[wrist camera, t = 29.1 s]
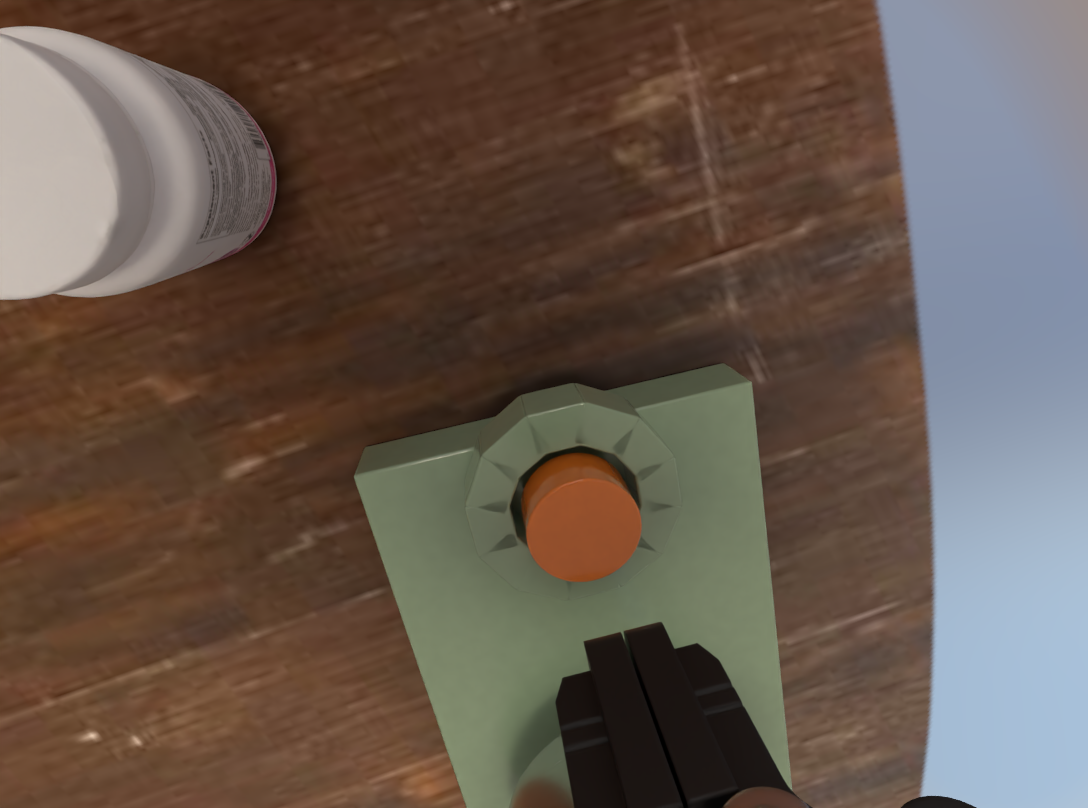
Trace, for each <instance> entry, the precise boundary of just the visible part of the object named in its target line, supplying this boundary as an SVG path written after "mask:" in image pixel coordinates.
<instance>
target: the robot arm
mask: <svg viewBox="0 0 1088 808" xmlns="http://www.w3.org/2000/svg"><path fill="white" fill-rule="evenodd" d="M624 640H625V641H624ZM583 642H584V647H585V652H586V656H587V661H588V665H589V669H590V671H586V672H582V673H578V674H575V675H571V676H567V677H563V678H562V681H561V685H560V688H559V691H558V695H557V698H556V701H555V704H556V709H557V715H558V720H559V726H560V730H561V737H562V742H563V748H564V752H565V759H566V764H567V770H568V776H569V781H570V787H571V792H572V798H573V803H574V808H812V807H810V806H809V805H808V804H806V803H805V802H803V801H802V800H801V799H800V798H799V797H798V796H796V795H795V794H794V793H793V791H792V790H791V789H790V788H789V787H788V785H787V784H786V782H785V780H784V779H783V777H782V775H781V773H780V771H779V770H778V768H777V766H776V764H775V762H774V760H773V759H772V757H771V755H770V753H769V751H768V749H767V747H766V746H765V744H764V742H763V740H762V738H761V736H760V735H759V733H758V731H757V729H756V727H755V725H754V723H753V722H752V720H751V718H750V716H749V714H748V712H747V710H746V709H745V707H743V705H742V701H741V699H740V698H739V696H738V694H737V692H736V690H735V688H734V687H733V686H732V683H731V681H730V679H729V677H728V675H727V673H726V672H725V670H724V668H723V666H722V664H721V662H720V661H719V659H717V658H716V657H715V656H714V655H712V654H711V653H710V652H708V651H707V650H706V649H705V648H703V647H702V646H701V645H699V644H698V643H695V644H691V645H687V646H684V647H680V648H676V649H674V646H673V644H672V642H671V640H670V638H669V636H668V633H667V631H666V629H665V627H664V625H663V623H662V622H657V623H653V624H649V625H645V626H641V627H637V628H633V629H629V630H625V631H624V638H623V636H622V633H621V632H618V633H614V634H610V635H606V636H602V637H598V638H594V639H590V640H586V641H583ZM901 808H976V807H974V806H972V805H969V804H967V803H965V802H962V801H960V800H956V799H952V798H948V797H942V796H925V797H919V798H916V799H913V800H911V801H909V802H907V803H906V804H904V805H903V806H902V807H901Z"/></svg>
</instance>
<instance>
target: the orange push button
mask: <svg viewBox="0 0 1088 808" xmlns="http://www.w3.org/2000/svg"><path fill="white" fill-rule="evenodd" d="M521 512H522V518H523V523H524V529H525V534H526V540H527V545H528V548H529V551H530V553H531V555H532V557H533V559H534V560H535V562H536V563H537V564H538V565H539V566H540V567H541V568H542V569H543V570H545V571H546V572H547V573H549V574H550V575H552V576H554V577H556V578H559V579H562V580H566V581H571V582H588V581H593V580H597V579H601V578H603V577H606V576H608V575H610V574H612V573H613V572H615V571H616V570H618V569H619V568H621V567H622V566H623V565H624V564H625V563H626V562H627V561H628V560H629V559H630V557H631V556H632V554H633V553H634V551H635V550H636V548H637V545H638V543H639V540H640V536H641V531H642V520H641V514H640V511H639V508H638V506H637V504H636V502H635V500H634V498H633V496H632V494H631V493H630V491H629V489H628V487H627V485H626V483H625V481H624V480H623V478H622V476H621V474H620V473H619V472H618V470H617V469H616V468H615V467H614V466H613V465H612V464H611V463H609V462H608V461H606V460H605V459H603V458H601V457H598V456H595V455H592V454H587V453H568V454H563V455H560V456H557V457H555V458H552V459H550V460H549V461H547V462H545V463H544V464H542V465H541V466H540V467H539V468H538V469H537V470H536V471H535V472H534V473H533V474H532V475H531V476H530V478H529V479H528V481H527V483H526V485H525V487H524V489H523V493H522V497H521Z"/></svg>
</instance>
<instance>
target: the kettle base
mask: <svg viewBox="0 0 1088 808" xmlns="http://www.w3.org/2000/svg"><path fill="white" fill-rule="evenodd" d="M568 453H587V454H592V455H595V456H598V457H601V458H603V459H605V460H606V461H608V462H609V463H611V464H612V465H613V466H614V467H615V468H616V469H617V470H618V472H619V473H620V474H621V476H622V478H623V480H624V481H625V483H626V485H627V487H628V489H629V491H630V493H631V494H632V496H633V498H634V500H635V502H636V504H637V506H638V508H639V511H640V514H641V520H642V531H641V536H640V540H639V543H638V545H637V548H636V550H635V551H634V553H633V554H632V556H631V557H630V559H629V560H628V561H627V562H626V563H625V564H624V565H623V566H622V567H621V568H619V569H618V570H616V571H615V572H613V573H612V574H610V575H608V576H606V577H603V578H601V579H597V580H593V581H588V582H571V581H566V580H562V579H559V578H556V577H554V576H552V575H550V574H549V573H547V572H546V571H545V570H543V569H542V568H541V567H540V566H539V565H538V564H537V563H536V562H535V560H534V559H533V557H532V555H531V553H530V551H529V548H528V545H527V540H526V534H525V529H524V523H523V518H522V512H521V497H522V493H523V489H524V487H525V485H526V483H527V481H528V479H529V478H530V476H531V475H532V474H533V473H534V472H535V471H536V470H537V469H538V468H539V467H540V466H541V465H542V464H544V463H545V462H547V461H549V460H550V459H552V458H555V457H557V456H560V455H563V454H568ZM354 480H355V483H356V485H357V488H358V491H359V494H360V497H361V500H362V503H363V506H364V509H365V512H366V515H367V518H368V521H369V524H370V527H371V529H372V532H373V535H374V538H375V541H376V544H377V547H378V550H379V553H380V556H381V559H382V562H383V565H384V568H385V571H386V573H387V576H388V579H389V582H390V585H391V588H392V591H393V594H394V597H395V600H396V603H397V606H398V609H399V612H400V615H401V617H402V620H403V623H404V626H405V629H406V632H407V635H408V638H409V641H410V644H411V647H412V650H413V653H414V656H415V659H416V661H417V664H418V667H419V670H420V673H421V676H422V679H423V682H424V685H425V688H426V691H427V694H428V697H429V700H430V702H431V705H432V708H433V711H434V714H435V717H436V720H437V723H438V726H439V729H440V732H441V735H442V738H443V741H444V744H445V746H446V749H447V752H448V755H449V758H450V761H451V764H452V767H453V770H454V773H455V776H456V779H457V782H458V785H459V788H460V790H461V793H462V796H463V799H464V802H465V805H466V808H509V805H510V801H511V798H512V795H513V792H514V790H515V788H516V786H517V784H518V782H519V779H520V777H521V776H522V774H523V773H524V771H525V770H526V769H527V767H528V766H529V764H530V763H531V762H532V761H533V760H534V758H535V757H536V756H537V755H538V754H539V753H540V752H541V751H542V750H543V749H544V748H545V747H546V746H547V745H548V744H550V743H551V742H552V741H553V740H554V739H556V738H557V737H558V736H560V735H561V730H560V726H559V720H558V715H557V709H556V704H555V701H556V698H557V695H558V691H559V688H560V685H561V681H562V678H563V677H567V676H571V675H575V674H578V673H582V672H586V671H590V669H589V665H588V661H587V656H586V652H585V647H584V642H583V641H586V640H590V639H594V638H598V637H602V636H606V635H610V634H614V633H618V632H621V633H622V636H623V638H624V631H625V630H629V629H633V628H637V627H641V626H645V625H649V624H653V623H657V622H662V623H663V625H664V627H665V629H666V631H667V633H668V636H669V638H670V640H671V642H672V644H673V646H674V649H676V648H680V647H684V646H687V645H691V644H695V643H698V644H699V645H701V646H702V647H703V648H705V649H706V650H707V651H708V652H710V653H711V654H712V655H714V656H715V657H716V658H717V659H719V661H720V662H721V664H722V666H723V668H724V670H725V672H726V673H727V675H728V677H729V679H730V681H731V683H732V686H733V687H734V688H735V690H736V692H737V694H738V696H739V698H740V699H741V701H742V705H743V707H745V709H746V710H747V712H748V714H749V716H750V718H751V720H752V722H753V723H754V725H755V727H756V729H757V731H758V733H759V735H760V736H761V738H762V740H763V742H764V744H765V746H766V747H767V749H768V751H769V753H770V755H771V757H772V759H773V760H774V762H775V764H776V766H777V768H778V770H779V771H780V773H781V775H782V777H783V779H784V780H785V782H786V784H787V785H788V787H789V788H790V789H791V790H792V783H791V773H790V762H789V752H788V742H787V732H786V722H785V712H784V702H783V692H782V682H781V672H780V662H779V651H778V641H777V631H776V621H775V611H774V601H773V591H772V581H771V571H770V561H769V551H768V541H767V530H766V520H765V510H764V500H763V490H762V480H761V470H760V460H759V450H758V440H757V430H756V419H755V409H754V399H753V389H752V383H751V381H750V380H748V379H747V378H745V377H744V376H742V375H741V374H740V373H738V372H737V371H735V370H734V369H732V368H731V367H730V366H728V365H727V364H725V363H721V364H717V365H713V366H709V367H704V368H700V369H696V370H692V371H687V372H683V373H679V374H675V375H670V376H666V377H662V378H658V379H653V380H649V381H645V382H641V383H636V384H632V385H628V386H624V387H619V388H615V389H611V390H607V391H602V390H598V389H595V388H591V387H588V386H585V385H581V384H578V383H570V384H565V385H561V386H557V387H553V388H548V389H544V390H540V391H536V392H531V393H527V394H523V395H521V396H518V397H517V398H516V399H515V400H514V401H513V402H512V403H511V404H509V405H508V406H507V407H506V408H505V409H504V410H503V411H502V412H501V413H499V414H498V415H497V416H496V417H492V418H488V419H483V420H479V421H475V422H471V423H466V424H462V425H458V426H454V427H449V428H445V429H441V430H437V431H432V432H428V433H424V434H420V435H415V436H411V437H407V438H403V439H398V440H394V441H390V442H386V443H381V444H377V445H373V446H369V447H365V448H364V450H363V452H362V455H361V458H360V461H359V463H358V466H357V469H356V471H355V474H354ZM624 641H625V640H624Z"/></svg>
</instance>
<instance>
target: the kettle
mask: <svg viewBox="0 0 1088 808" xmlns="http://www.w3.org/2000/svg"><path fill="white" fill-rule="evenodd" d="M509 808H574V803H573V798H572V792H571V787H570V781H569V776H568V770H567V764H566V759H565V752H564V748H563V742H562V737H561V735H560V736H558V737H557V738H556V739H554V740H553V741H552V742H551V743H550V744H548V745H547V746H546V747H545V748H544V749H543V750H542V751H541V752H540V753H539V754H538V755H537V756H536V757H535V758H534V760H533V761H532V762H531V763H530V764H529V766H528V767H527V769H526V770H525V771H524V773H523V774H522V776H521V777H520V779H519V782H518V784H517V786H516V788H515V790H514V792H513V795H512V798H511V801H510V805H509Z"/></svg>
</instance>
